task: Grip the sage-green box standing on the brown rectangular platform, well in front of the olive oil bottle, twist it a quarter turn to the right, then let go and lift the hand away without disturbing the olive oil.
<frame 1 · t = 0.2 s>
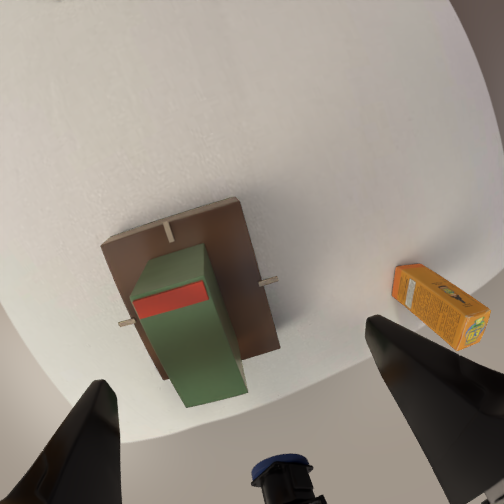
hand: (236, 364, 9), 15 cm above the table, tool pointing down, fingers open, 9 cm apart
supplement box: (404, 279, 27), on the table
green box: (193, 325, 18), point 6 cm above the table, hinge at 0.0°
brown rectangular platform: (195, 289, 24), on the table
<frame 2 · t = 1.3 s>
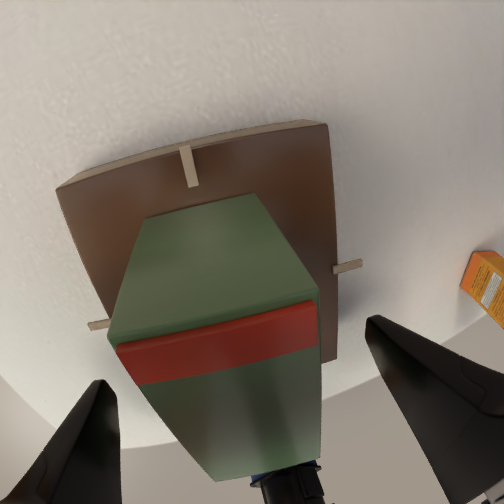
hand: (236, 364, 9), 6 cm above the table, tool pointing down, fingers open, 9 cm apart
supplement box: (474, 268, 19), on the table
green box: (233, 352, 10), point 6 cm above the table, hinge at 0.0°
brown rectangular platform: (217, 266, 15), on the table
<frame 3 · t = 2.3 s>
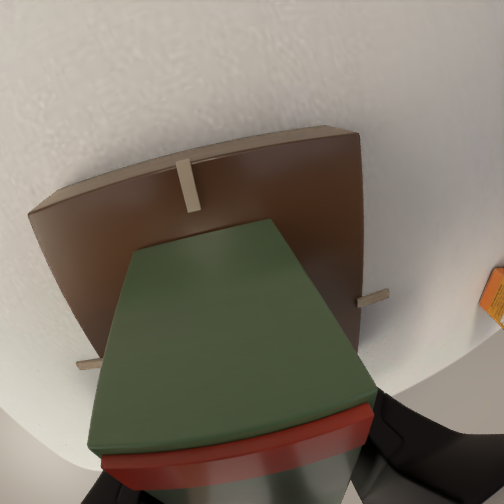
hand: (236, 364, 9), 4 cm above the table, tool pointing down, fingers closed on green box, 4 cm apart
supplement box: (493, 284, 17), on the table
green box: (245, 411, 8), point 6 cm above the table, hinge at 0.0°, touching gripper
brown rectangular platform: (222, 295, 13), on the table
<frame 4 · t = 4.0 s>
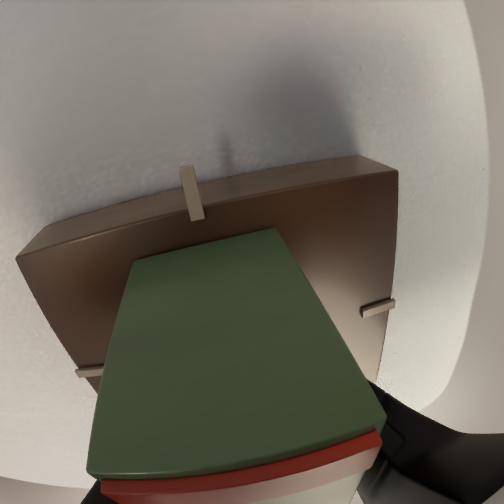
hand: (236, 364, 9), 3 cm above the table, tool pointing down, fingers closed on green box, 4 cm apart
green box: (247, 424, 7), point 6 cm above the table, hinge at -89.5°, touching gripper
brown rectangular platform: (224, 303, 12), on the table
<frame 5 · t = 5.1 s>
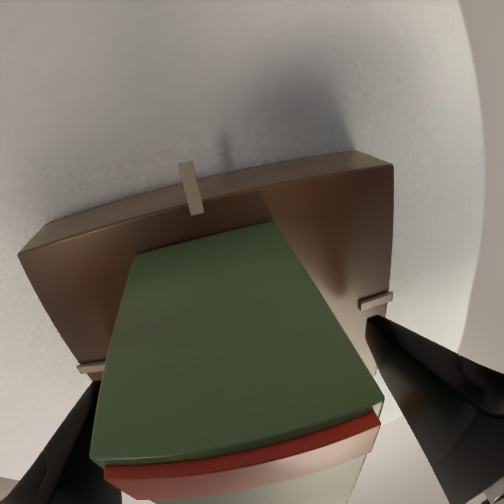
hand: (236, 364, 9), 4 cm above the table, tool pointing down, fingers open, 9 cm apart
green box: (248, 416, 8), point 6 cm above the table, hinge at -89.5°
brown rectangular platform: (224, 298, 12), on the table
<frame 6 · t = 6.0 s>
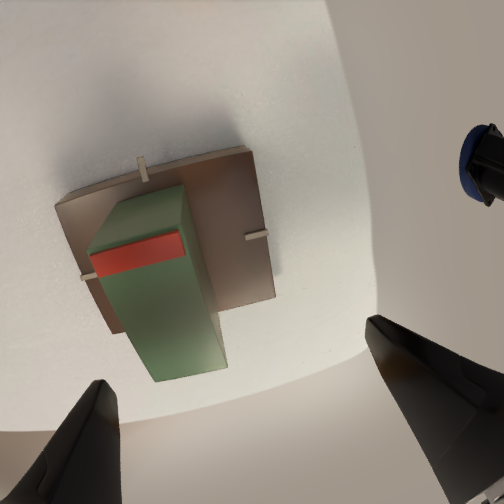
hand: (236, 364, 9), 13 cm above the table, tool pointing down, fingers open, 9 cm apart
green box: (166, 283, 15), point 6 cm above the table, hinge at -89.5°
brown rectangular platform: (170, 238, 20), on the table
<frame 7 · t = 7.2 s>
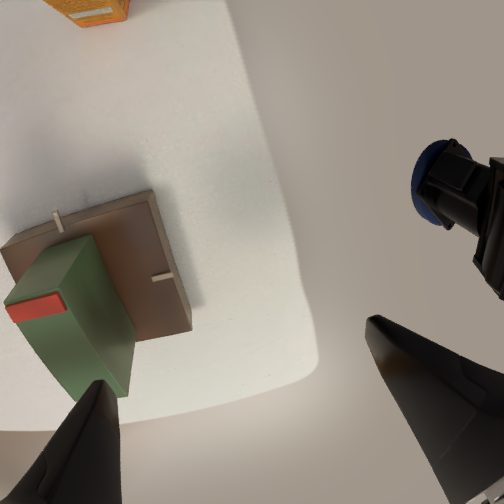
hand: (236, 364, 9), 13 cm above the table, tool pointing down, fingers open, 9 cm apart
supplement box: (109, 4, 13), on the table
green box: (78, 322, 16), point 6 cm above the table, hinge at -89.5°
brown rectangular platform: (98, 274, 21), on the table
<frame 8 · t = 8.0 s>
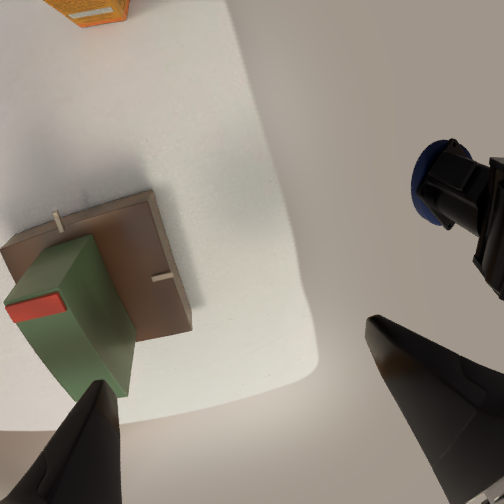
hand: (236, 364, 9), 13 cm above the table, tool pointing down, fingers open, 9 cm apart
supplement box: (109, 4, 13), on the table
green box: (78, 322, 16), point 6 cm above the table, hinge at -89.5°
brown rectangular platform: (98, 274, 21), on the table
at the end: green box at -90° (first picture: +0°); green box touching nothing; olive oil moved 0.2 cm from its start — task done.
